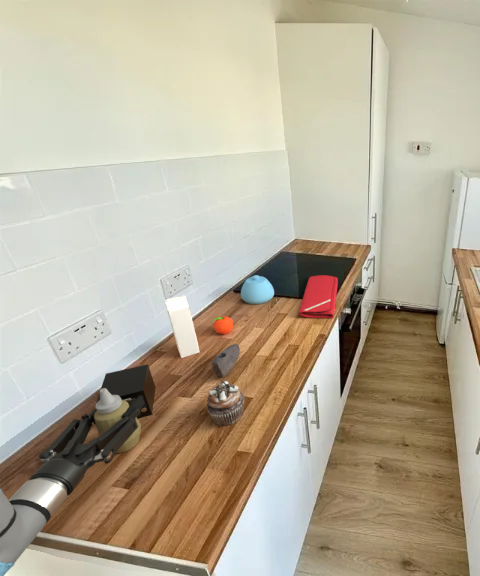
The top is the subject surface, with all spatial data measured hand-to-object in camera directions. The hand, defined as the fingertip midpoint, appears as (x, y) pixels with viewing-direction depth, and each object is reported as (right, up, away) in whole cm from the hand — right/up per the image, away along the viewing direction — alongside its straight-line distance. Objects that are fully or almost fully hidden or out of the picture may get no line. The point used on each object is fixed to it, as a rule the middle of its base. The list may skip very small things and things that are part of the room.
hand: (127, 399), depth 83 cm
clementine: (+2, +11, +46) cm, 47 cm away
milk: (-5, +6, +34) cm, 35 cm away
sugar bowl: (+5, +24, +73) cm, 77 cm away
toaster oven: (-7, -5, +11) cm, 14 cm away
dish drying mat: (+34, +24, +77) cm, 88 cm away
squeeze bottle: (0, -11, 0) cm, 11 cm away
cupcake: (+21, -8, +10) cm, 25 cm away
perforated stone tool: (+13, +1, +28) cm, 31 cm away
